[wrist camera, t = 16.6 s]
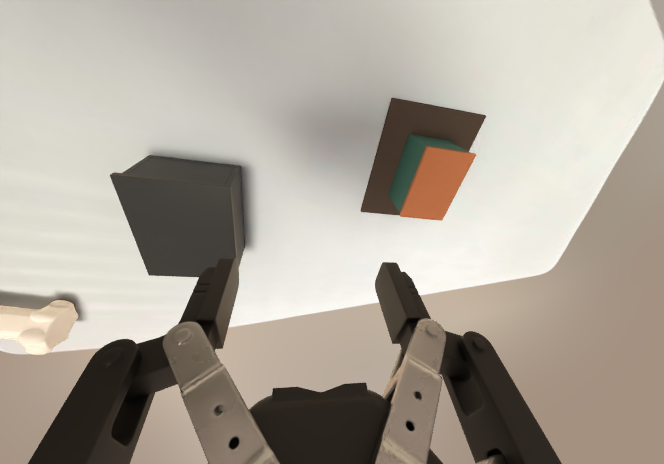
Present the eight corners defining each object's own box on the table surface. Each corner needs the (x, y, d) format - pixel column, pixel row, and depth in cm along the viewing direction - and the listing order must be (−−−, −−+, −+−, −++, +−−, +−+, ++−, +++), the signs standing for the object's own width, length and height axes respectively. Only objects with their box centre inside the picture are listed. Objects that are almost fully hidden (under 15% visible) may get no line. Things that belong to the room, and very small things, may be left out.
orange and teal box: (408, 133, 31) (427, 147, 26) (450, 140, 32) (476, 154, 28) (387, 195, 36) (400, 216, 32) (424, 199, 38) (442, 220, 33)
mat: (391, 97, 29) (392, 98, 29) (484, 115, 31) (486, 115, 31) (360, 210, 38) (361, 211, 38) (434, 217, 40) (435, 218, 40)
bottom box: (145, 152, 30) (109, 174, 24) (242, 164, 32) (230, 187, 26) (171, 243, 38) (148, 275, 33) (247, 247, 40) (238, 278, 35)
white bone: (75, 293, 42) (34, 336, 36) (84, 321, 47) (49, 363, 40) (-42, 277, 38) (-113, 323, 31) (-19, 310, 42) (-77, 356, 36)
